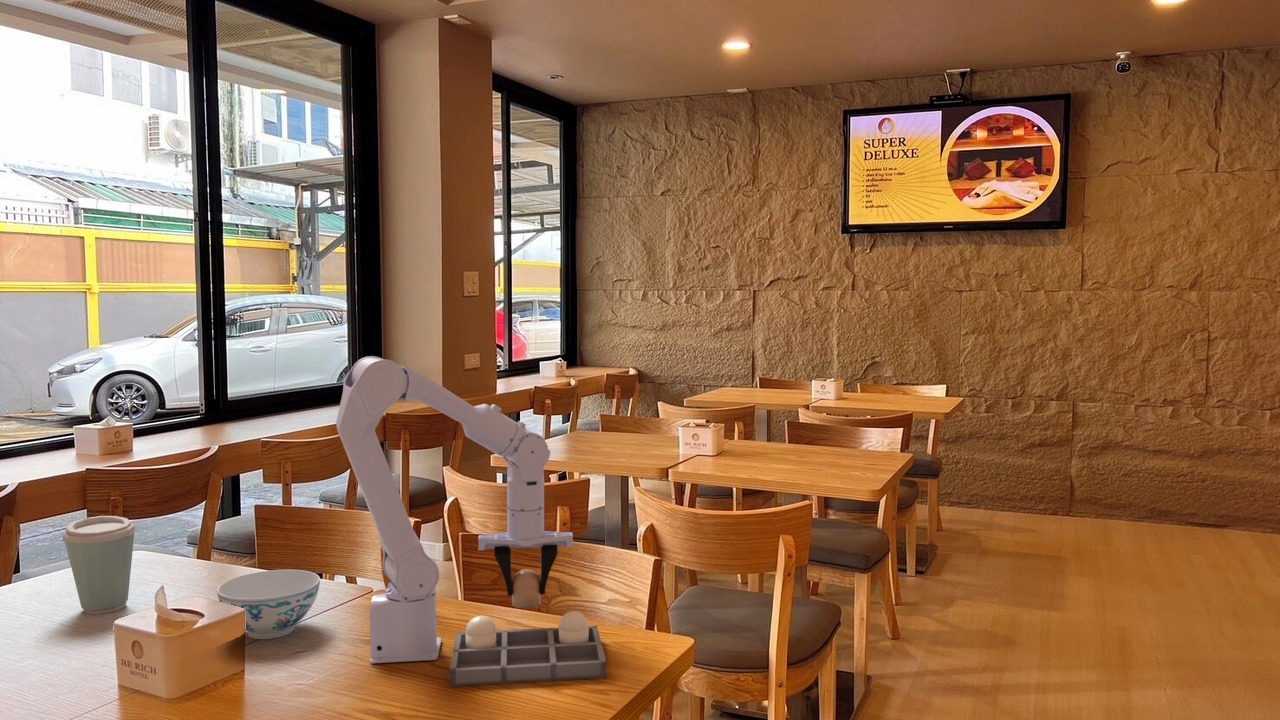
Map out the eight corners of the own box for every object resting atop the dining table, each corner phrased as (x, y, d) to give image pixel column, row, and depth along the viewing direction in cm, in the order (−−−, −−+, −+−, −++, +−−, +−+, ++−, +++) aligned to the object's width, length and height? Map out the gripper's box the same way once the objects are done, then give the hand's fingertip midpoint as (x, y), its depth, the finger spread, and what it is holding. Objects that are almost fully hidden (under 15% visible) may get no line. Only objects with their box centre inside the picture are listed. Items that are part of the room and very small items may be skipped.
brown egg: (512, 608, 143) (511, 574, 142) (512, 599, 147) (511, 566, 147) (540, 607, 143) (540, 573, 143) (540, 598, 147) (539, 565, 147)
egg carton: (449, 686, 125) (449, 644, 125) (456, 646, 139) (455, 609, 139) (606, 677, 128) (606, 636, 127) (597, 639, 142) (596, 602, 142)
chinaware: (308, 609, 156) (307, 564, 156) (332, 636, 144) (331, 587, 143) (211, 626, 148) (209, 579, 148) (228, 657, 136) (226, 605, 135)
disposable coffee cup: (151, 605, 158) (148, 519, 157) (86, 624, 149) (82, 532, 148) (118, 595, 164) (114, 511, 163) (53, 612, 155) (48, 524, 154)
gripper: (477, 514, 139) (478, 603, 140) (573, 511, 141) (574, 599, 142) (479, 504, 146) (479, 588, 147) (571, 501, 148) (571, 585, 149)
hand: (526, 593), depth 145 cm, fingers closed on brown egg, 4 cm apart
